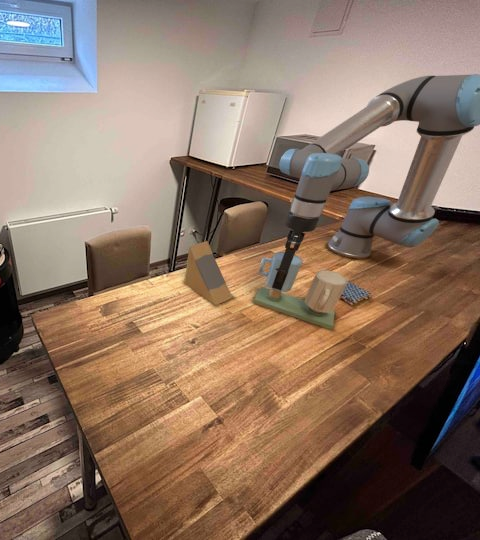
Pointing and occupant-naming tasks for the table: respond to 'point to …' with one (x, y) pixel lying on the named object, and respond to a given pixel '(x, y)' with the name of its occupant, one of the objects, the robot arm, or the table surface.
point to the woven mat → (354, 293)
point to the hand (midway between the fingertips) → (279, 281)
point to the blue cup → (272, 271)
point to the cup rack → (293, 307)
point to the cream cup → (325, 290)
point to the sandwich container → (205, 274)
